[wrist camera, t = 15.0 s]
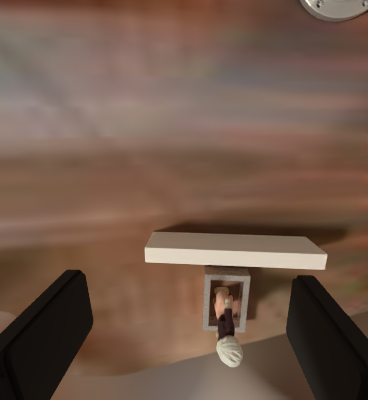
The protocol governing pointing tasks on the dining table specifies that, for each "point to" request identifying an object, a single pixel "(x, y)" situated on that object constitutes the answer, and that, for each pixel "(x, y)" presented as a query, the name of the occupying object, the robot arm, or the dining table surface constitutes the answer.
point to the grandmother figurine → (226, 328)
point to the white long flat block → (234, 250)
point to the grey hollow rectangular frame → (240, 321)
